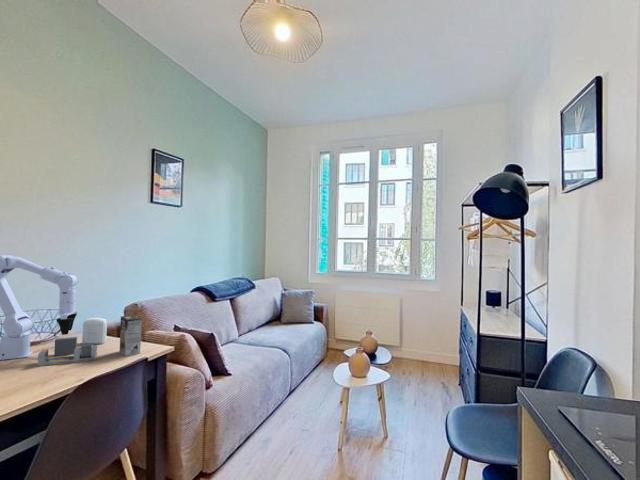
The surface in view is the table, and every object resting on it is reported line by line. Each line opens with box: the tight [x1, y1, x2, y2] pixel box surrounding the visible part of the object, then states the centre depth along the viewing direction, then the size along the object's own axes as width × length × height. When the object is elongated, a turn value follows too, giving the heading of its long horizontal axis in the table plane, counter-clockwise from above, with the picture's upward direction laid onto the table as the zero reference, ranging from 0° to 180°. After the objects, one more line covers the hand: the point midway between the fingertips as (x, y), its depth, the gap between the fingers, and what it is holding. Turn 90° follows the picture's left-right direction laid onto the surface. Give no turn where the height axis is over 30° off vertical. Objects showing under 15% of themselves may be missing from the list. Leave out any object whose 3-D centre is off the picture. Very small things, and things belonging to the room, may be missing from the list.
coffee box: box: [119, 314, 143, 357], centre depth 152 cm, size 9×6×16 cm
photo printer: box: [81, 317, 108, 345], centre depth 163 cm, size 10×4×12 cm, turn 98°
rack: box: [37, 343, 98, 367], centre depth 138 cm, size 19×6×6 cm, turn 118°
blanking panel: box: [53, 336, 78, 357], centre depth 147 cm, size 8×2×7 cm, turn 118°
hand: (66, 332), depth 147 cm, fingers open, 7 cm apart
